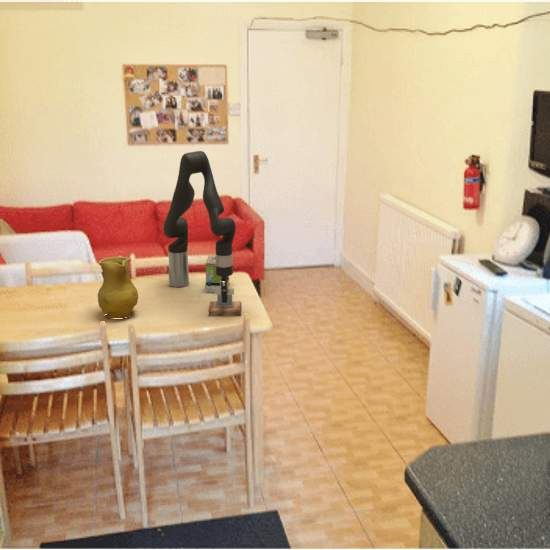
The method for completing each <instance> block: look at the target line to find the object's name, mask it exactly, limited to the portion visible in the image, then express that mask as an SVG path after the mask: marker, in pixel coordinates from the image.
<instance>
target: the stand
mask: <svg viewBox="0 0 550 550" xmlns="http://www.w3.org/2000/svg"><path fill="white" fill-rule="evenodd" d="M216 301H217V300H216ZM216 301H214V300H213V301H212V300H211V301H209V307H208V317H241V316H242V301H240V300H233V301H234V308H216Z"/></svg>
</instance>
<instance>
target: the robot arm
mask: <svg viewBox="0 0 550 550" xmlns="http://www.w3.org/2000/svg"><path fill="white" fill-rule="evenodd" d="M200 173H201V174H202V176H203V180H204V181H203V182H204V184H203V190H202V201H203V204H204V206H205V209H206V211H207V213H208V218H209V226H210V230H211V232H212V234H213V235H214V236H216V237H221V238H220V239H218V240H217V241H215V255H216V258H215V264H216V275H218V276H221V277H220V289H221V295H222V303H227V294H228V293H227V290H228V289H229V285H230V276H232V275H233V274H234V258H233V243H234V238H235V235H236V230H237V229H236V228H237V227H236V223H235V220H234V219H233V217H224V218H219V216H220V215H222V214H223V213H225V207H224V205H223V201H222V199H221V197H220V195H219V192H218V190H217V188H216V187H217V186H216V183H215V179H214V175H213V172H212V167H211V164H210V161H209V158H208V156H207V154H206V153H205V152H204V151H203V150H198V151H197V150H196V151H191V152H186V153H183V155H182V156H181V158H180V162H179V170H178V175H177V181H176V185H175V187H174V190H173V195H172V197H171V198H172V199H171V203H170V207H169V210H168V212H167V215H166V217H165V219H164V223H163V234H164V236H165V237H166V238H168V239H175V238H176V239H175V240H174V241H172V242H171V243H170V244H168V246H167V248H168V251H167V254H168V283H169V285H168V287H173V286H174V287H175V288H184V287H187V286H189V284H190V276H189V275H190V274H189V256H188V254H189V252H188V248H189V246H188V245H189V224H188V220H187V218H185V217H182V216H183V215H184V214H185V213H187V211H189V210H190V208H191V207H192V204H193V202H194V198H195V195H196V193H195V192H196V191H195V189H194V186H193V185H192V183H191V182H190V178H191V176H192V175H193V174H194V175H195V174H200ZM228 276H229V277H228ZM174 287H173V288H174ZM223 290H226V292H223Z"/></svg>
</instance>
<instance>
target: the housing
mask: <svg viewBox="0 0 550 550" xmlns="http://www.w3.org/2000/svg"><path fill="white" fill-rule="evenodd" d="M223 292H226V290H223ZM227 293H228V294H227V303H222V295H221V289H216V291H215V292H214V294H215V296H217V300H216V308H234V301H235V300H233V295H234V294H235V288H228V290H227Z"/></svg>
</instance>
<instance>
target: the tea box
mask: <svg viewBox="0 0 550 550" xmlns="http://www.w3.org/2000/svg"><path fill="white" fill-rule="evenodd" d="M215 258H216V254H209V255H208V256H207V260H206V262H205V293H215V291H216V289H220V277H221V276H218V275H216V264H215ZM228 277H229V278H230V276H228Z"/></svg>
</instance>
